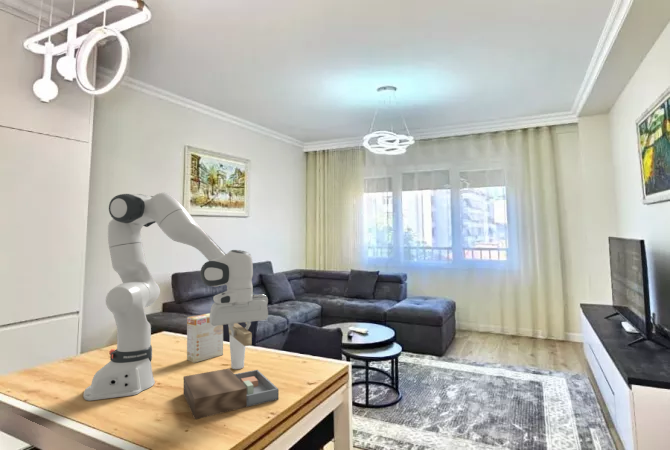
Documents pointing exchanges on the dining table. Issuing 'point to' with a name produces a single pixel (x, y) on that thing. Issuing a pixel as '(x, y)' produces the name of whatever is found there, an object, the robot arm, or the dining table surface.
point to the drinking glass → (236, 353)
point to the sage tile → (248, 387)
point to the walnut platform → (214, 393)
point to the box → (260, 389)
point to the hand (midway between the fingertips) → (239, 335)
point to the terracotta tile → (251, 380)
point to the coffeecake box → (203, 338)
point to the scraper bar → (242, 335)
